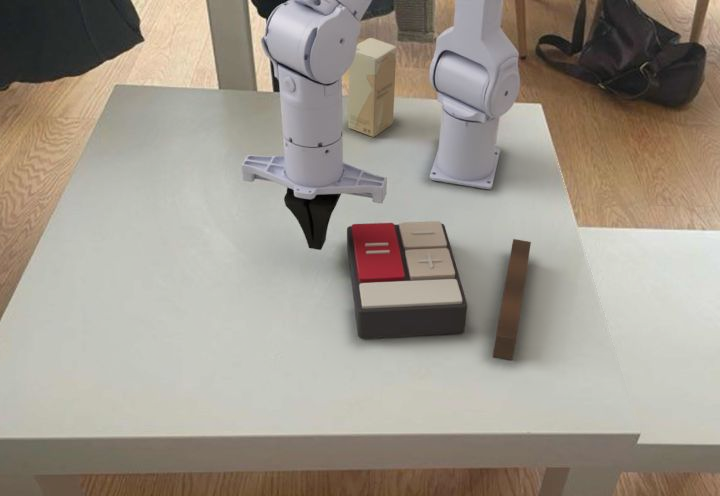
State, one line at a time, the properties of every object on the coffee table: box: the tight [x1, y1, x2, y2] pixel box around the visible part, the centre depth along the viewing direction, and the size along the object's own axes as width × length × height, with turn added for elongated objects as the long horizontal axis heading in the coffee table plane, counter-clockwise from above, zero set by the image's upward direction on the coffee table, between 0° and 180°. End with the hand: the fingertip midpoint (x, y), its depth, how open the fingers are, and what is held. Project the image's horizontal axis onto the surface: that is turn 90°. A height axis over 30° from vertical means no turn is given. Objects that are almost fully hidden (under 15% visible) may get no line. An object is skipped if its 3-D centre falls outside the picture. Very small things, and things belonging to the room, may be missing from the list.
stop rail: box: [492, 238, 532, 361], centre depth 87 cm, size 16×2×3 cm, turn 171°
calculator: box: [346, 220, 468, 339], centre depth 87 cm, size 11×4×15 cm
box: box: [347, 37, 397, 138], centre depth 108 cm, size 5×4×11 cm
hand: (317, 243), depth 88 cm, fingers closed
